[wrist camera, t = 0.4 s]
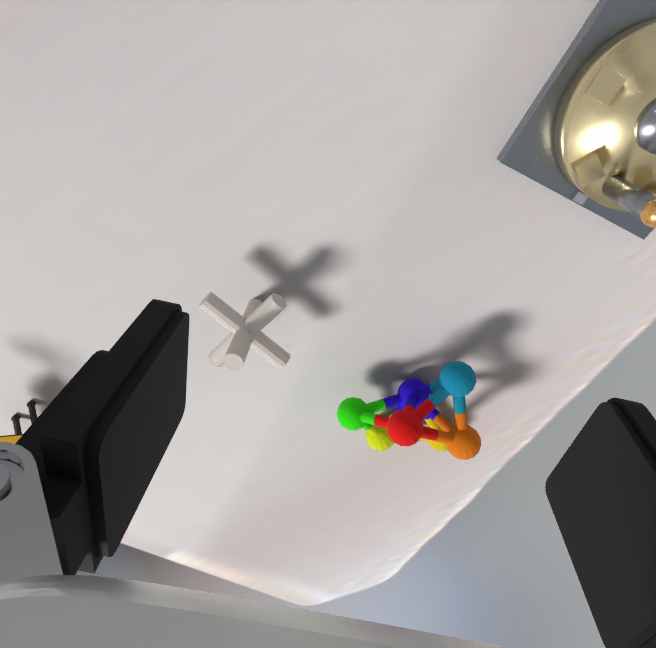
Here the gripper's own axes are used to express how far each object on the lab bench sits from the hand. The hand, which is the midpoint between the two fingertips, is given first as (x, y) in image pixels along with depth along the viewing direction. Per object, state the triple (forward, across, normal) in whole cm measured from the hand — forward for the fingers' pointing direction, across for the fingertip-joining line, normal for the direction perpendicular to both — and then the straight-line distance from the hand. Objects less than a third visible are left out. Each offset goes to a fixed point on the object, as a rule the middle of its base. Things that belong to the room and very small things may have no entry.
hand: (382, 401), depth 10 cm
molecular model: (+34, -11, +27) cm, 45 cm away
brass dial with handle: (+32, -20, -6) cm, 38 cm away
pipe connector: (+34, +8, +19) cm, 40 cm away
